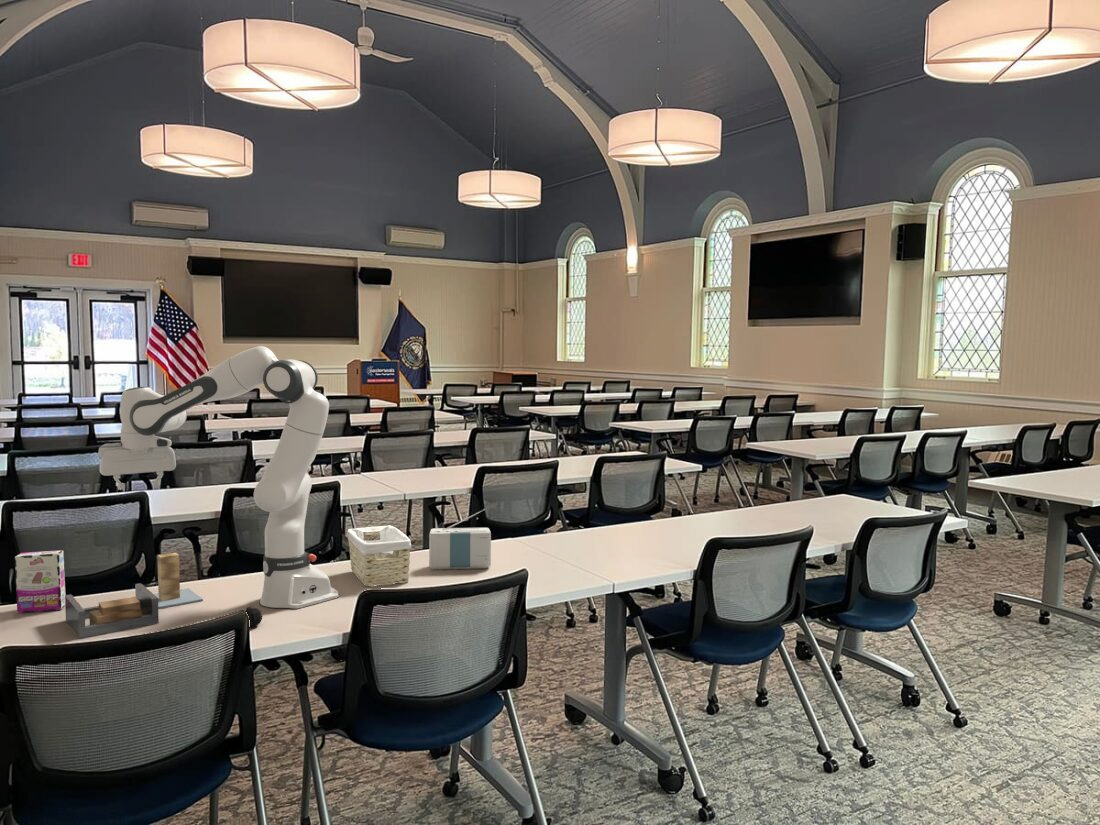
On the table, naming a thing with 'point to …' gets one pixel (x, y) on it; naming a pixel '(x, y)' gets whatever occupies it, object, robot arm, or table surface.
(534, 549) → the table surface
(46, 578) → the candy bar box
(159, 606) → the slate mat
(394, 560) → the storage basket
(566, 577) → the table surface
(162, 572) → the tan wooden block
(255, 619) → the microphone
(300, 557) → the robot arm
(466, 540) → the stereo radio cassette player
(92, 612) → the offcut stack
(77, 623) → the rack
